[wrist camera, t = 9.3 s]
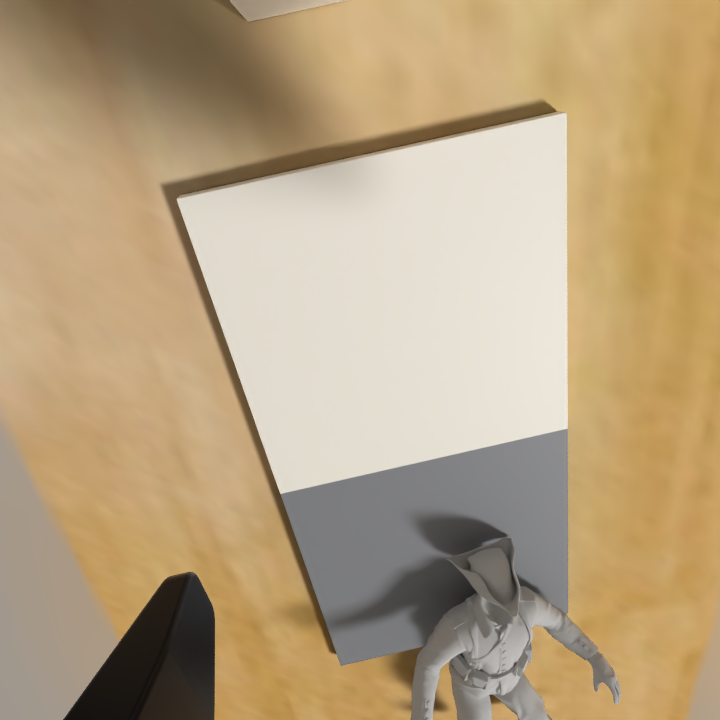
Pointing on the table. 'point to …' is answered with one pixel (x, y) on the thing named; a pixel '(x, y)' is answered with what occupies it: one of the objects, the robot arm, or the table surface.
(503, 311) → the board
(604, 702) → the table surface
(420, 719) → the soldier figure
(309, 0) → the die
